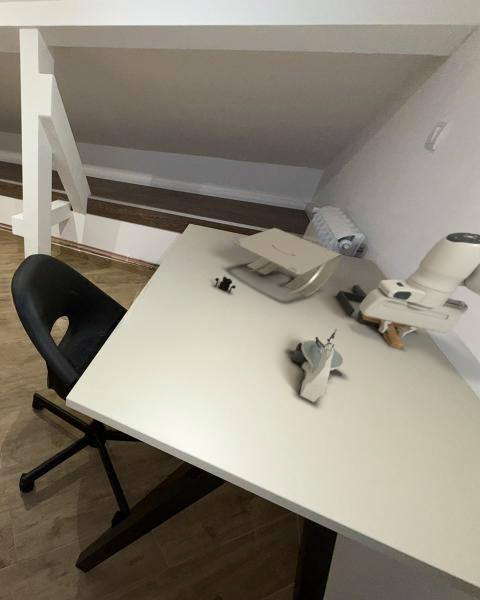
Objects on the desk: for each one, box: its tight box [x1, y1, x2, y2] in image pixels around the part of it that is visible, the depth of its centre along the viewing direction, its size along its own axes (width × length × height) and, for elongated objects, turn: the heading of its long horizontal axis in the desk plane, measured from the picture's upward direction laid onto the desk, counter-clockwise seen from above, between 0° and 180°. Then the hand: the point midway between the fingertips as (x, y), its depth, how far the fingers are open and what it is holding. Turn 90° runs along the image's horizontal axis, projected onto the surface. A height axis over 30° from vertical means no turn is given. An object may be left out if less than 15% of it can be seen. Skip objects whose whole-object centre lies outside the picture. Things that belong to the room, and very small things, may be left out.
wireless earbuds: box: [214, 276, 237, 294], centre depth 104 cm, size 7×2×5 cm, turn 43°
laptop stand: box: [233, 227, 343, 298], centre depth 109 cm, size 26×24×16 cm
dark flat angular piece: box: [335, 284, 368, 317], centre depth 104 cm, size 22×17×3 cm
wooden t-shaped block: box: [357, 313, 407, 349], centre depth 90 cm, size 11×12×3 cm
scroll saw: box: [289, 328, 344, 405], centre depth 71 cm, size 20×11×12 cm
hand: (389, 333), depth 89 cm, fingers closed on wooden t-shaped block, 2 cm apart
